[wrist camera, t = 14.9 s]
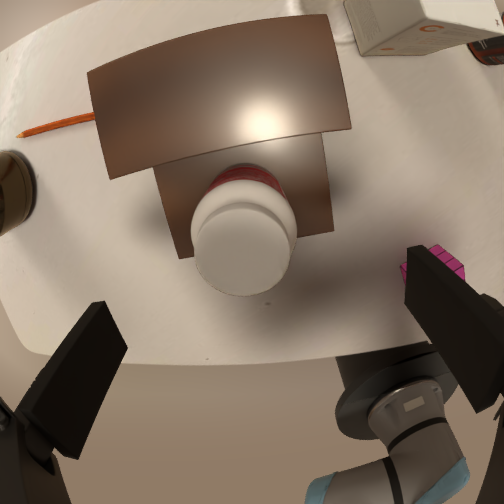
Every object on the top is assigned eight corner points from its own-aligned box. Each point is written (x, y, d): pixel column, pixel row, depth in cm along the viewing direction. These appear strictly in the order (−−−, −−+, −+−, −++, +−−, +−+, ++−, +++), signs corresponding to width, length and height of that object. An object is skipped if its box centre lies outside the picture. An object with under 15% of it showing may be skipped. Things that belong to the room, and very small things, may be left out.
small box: (408, 4, 19) (479, -35, 7) (425, 56, 22) (509, 36, 10) (340, 2, 20) (393, -59, 8) (358, 57, 23) (428, 20, 11)
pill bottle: (194, 186, 24) (154, 232, 14) (260, 149, 23) (268, 167, 13) (232, 247, 26) (221, 326, 16) (296, 214, 25) (325, 278, 15)
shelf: (324, 217, 29) (364, 274, 18) (187, 242, 30) (154, 309, 19) (296, 57, 23) (327, 13, 12) (149, 89, 24) (86, 72, 13)
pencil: (149, 110, 25) (147, 110, 24) (17, 140, 25) (13, 140, 24) (149, 102, 24) (147, 102, 24) (17, 133, 24) (13, 134, 24)
